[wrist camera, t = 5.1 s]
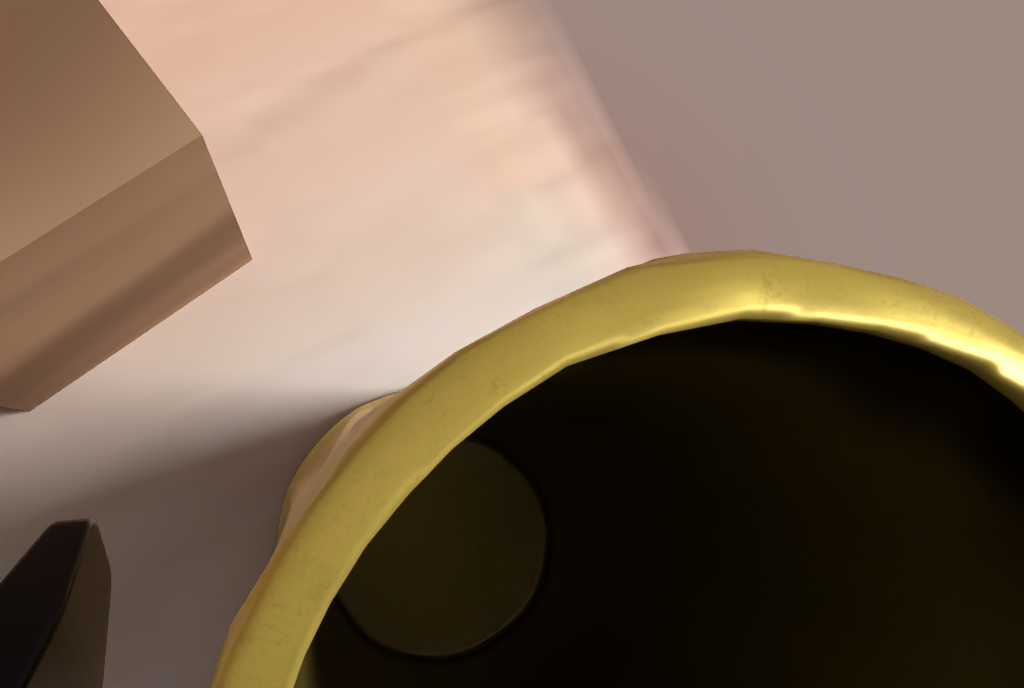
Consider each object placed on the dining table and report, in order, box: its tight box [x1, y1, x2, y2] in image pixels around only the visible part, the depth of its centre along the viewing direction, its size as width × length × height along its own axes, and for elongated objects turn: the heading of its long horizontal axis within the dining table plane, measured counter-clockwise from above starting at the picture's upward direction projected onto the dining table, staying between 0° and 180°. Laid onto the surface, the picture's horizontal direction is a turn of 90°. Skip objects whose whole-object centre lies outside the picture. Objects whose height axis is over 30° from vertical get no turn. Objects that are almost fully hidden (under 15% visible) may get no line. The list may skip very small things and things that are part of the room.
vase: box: [210, 250, 1024, 688], centre depth 11 cm, size 6×6×14 cm
